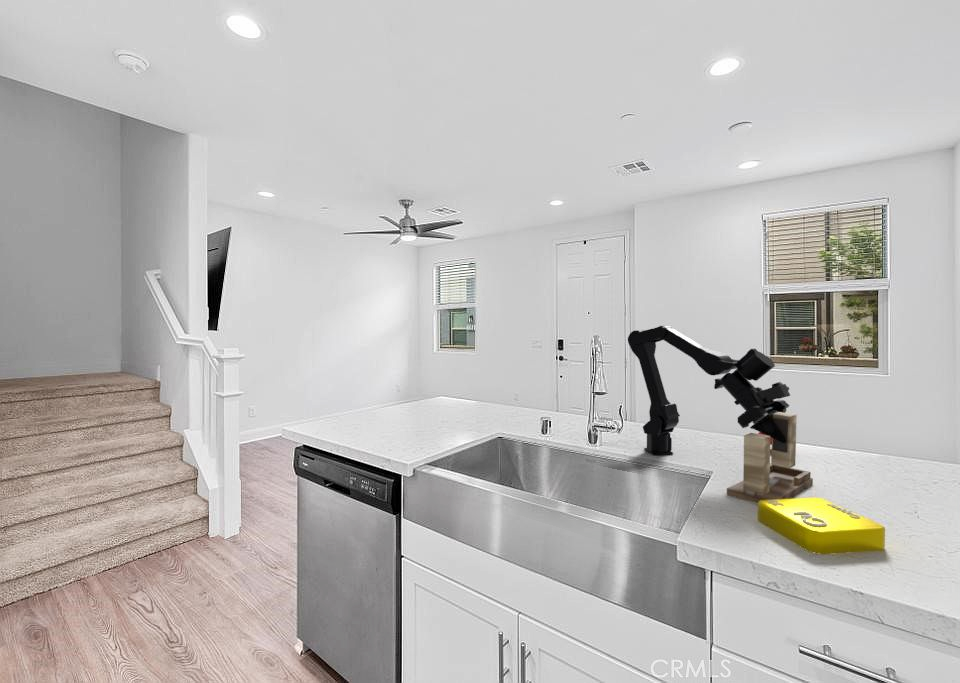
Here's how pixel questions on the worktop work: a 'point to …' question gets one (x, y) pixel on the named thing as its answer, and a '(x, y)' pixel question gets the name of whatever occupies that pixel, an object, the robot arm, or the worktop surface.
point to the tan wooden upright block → (786, 451)
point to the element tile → (821, 525)
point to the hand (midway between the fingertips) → (789, 440)
